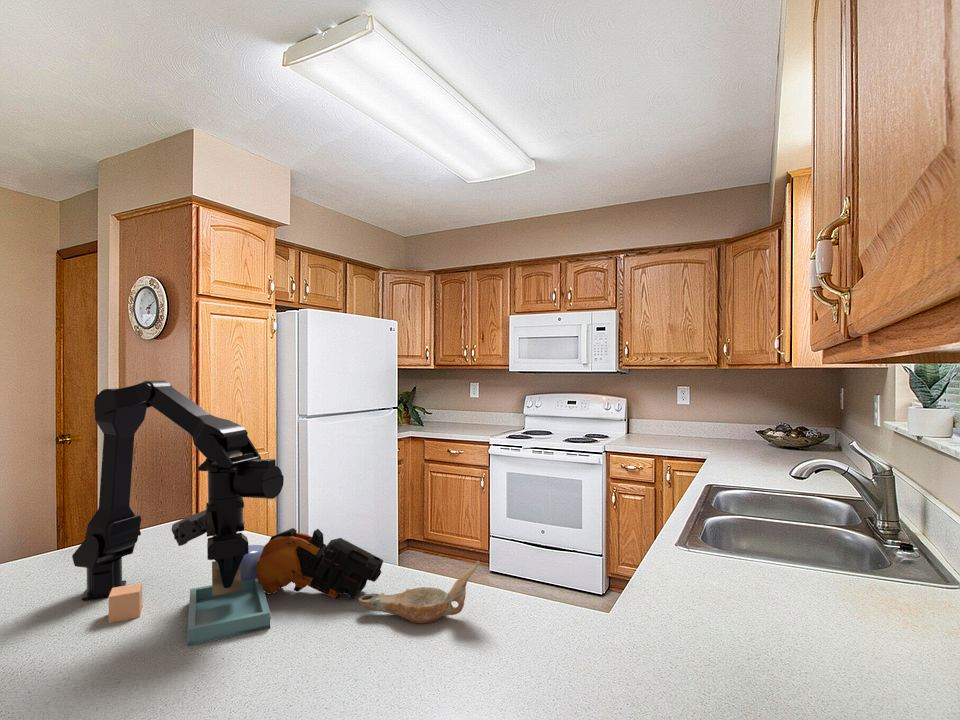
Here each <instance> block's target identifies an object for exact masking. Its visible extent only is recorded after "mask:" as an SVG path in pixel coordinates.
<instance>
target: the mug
mask: <svg viewBox="0 0 960 720" xmlns="http://www.w3.org/2000/svg"><path fill="white" fill-rule="evenodd" d="M264 546H265V545H262V544H250V545H249V544H248V554H246V555H244V557H243V559H242V561H241V563H240V566H241V580H249V579H254V578H257V573H256V569H257V568H256V566H257V561H258V559H259V557H260V556H261V553H262V551H263V548H264ZM212 562H215V560H212Z"/></svg>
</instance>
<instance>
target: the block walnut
mask: <svg viewBox="0 0 960 720" xmlns="http://www.w3.org/2000/svg"><path fill="white" fill-rule="evenodd" d="M214 561H215V560H214ZM211 576H212V577H211V585H212V593H213V596H215V595H220V594H226V593H231V592H237V591H241V566H239V568H238V571H237V573H236V575H235V578H234V580H233V583H232V585H231V587H230V588H224V586H223V582H222V578H221V574H220V569H219V565H218V562H217V561H215V562H213V561H211Z"/></svg>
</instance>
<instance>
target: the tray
mask: <svg viewBox="0 0 960 720" xmlns="http://www.w3.org/2000/svg"><path fill="white" fill-rule="evenodd" d="M188 604H189V605H188V618H187V619H188V621H187V646H188V647H190V646H196V645H199V644H204V643H208V642H214V641H218V640H222V639H226V638H230V637H231V638H232V637H235V636H240V635H245V634H250V633H254V632H259V631H263V630H268V629H271V611H270V607H269V604H268V600H267V597H266V592H265V591H264V589H263V585H262V584H259V582H258V579H257V578H254V579H249V580H241V591H237V592H231V593H226V594H220V595H215V596H213V593H212V584H211V585H205V586H199V587H194V588H190V589H189V603H188Z"/></svg>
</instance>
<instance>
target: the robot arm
mask: <svg viewBox="0 0 960 720" xmlns="http://www.w3.org/2000/svg"><path fill="white" fill-rule="evenodd" d="M93 404H94V406H93V407H94V408H93V409H94V421H95V422H96V424H97V426H98V427H99V429H100V430H101V432H102V434H103V443H102V458H101V469H100V470H101V472H100V474H101V475H100V484H99V485H100V486H99V501H98V509H97V511H96V512H95V514H94V515H93V517H92V518H91V519H90V521H89V522H88V523H87V528H86V533H85V537H84V540H83V542H82V543H81V544H80V545H79V546H78V548H77V549H76V550H75V551H74V552H73V554H72V556H71V558H72V562H73V565H74V567H77V568H84V569H85V568H86V589H85V591H84V592H83V595H82V596H81V601H86V600H92V599H93V600H94V599H98V598H104V597H105V598H106V597H109V595H110V592H111V590H112V588H114V587H120V586H126V585H127V580H126V579H125V580H123V557H126V556H128V555H132V554H133V553H134V550H135V546H136V544H137V543H138V538H139V536H141V535H142V533H141V523H142V517H141V515H139V514H135V513H134V511H133V510H132V507H130V506H131V486H132V473H133V462H134V461H133V459H134V448H135V447H134V446H135V445H134V443H135V434H136V432H137V431H138V430H139V428H140V426H141V425H142V424H143V422H144V421H145V420H146V419H145V418H146V414H147V410H148V409H150V408H152V407H153V409H155V410H157V411H158V412H159V413H160V414H162V415H163V416H164V417H166V418H167V419H169V420H170V421H171V422H173V423H174V424H176V425H177V426H178V427H179V428H181V429H182V430H184V432H186V433H188V434H189V435H190V436H191V438H192V441H193V445H194V447H195V448H196V449H197V450H198V451H199V452H200V453H201V454H202V455H203V456H204V457H205V460H204V461H203V462H202V463H201V464H200V465H199V466H197V471H199V472H207V502H205V503H206V505H205V510H202V511H199V512H197V513H194V514H192V515H190V516H189V515H188V516H187V517H184V518H183V519H181V520H178V521H176V522H175V523H172V525H171V532H172V535H173V538H174V540H175V541H176V543H177V545H178V546H179V547H181V546H184V545H187V544H188V542H190V541H193V540H194V539H196V538H199V537H201V536H202V535H205V534H206V537H208V538H207V547H206V548H207V549H206V551H207V553H206V554H207V560H208V561H217V562H218V565H219V569H220V574H221V578H222V582H223V586H224V588H230V587H231V585H232V583H233V580H234V578H235V575H236V573H237V571H238V568H239V566H240V563H241V561H242V559H243V557H244V555H246V554H248V545H249V539H248V537H247V535H245V534H243V533H242V532H244V531H245V523H244V508H245V502H244V498H249V499H250V498H251V499H267V500H269V499H270V500H274V499H275V498H277V497H278V496H279V495H280V493H281V491H282V489H283V487H284V477H285V476H284V475H283V473H282V469H281V468H280V467H279V466H277V465H276V458H268V459H262V456H261V455H260V454H259V452H258V450H257V448H256V447H255V445H254V444H253V442H252V441H251V439H250V437H249V436H248V431H247V429H246V428H245V427H244V426H242V425H241V424H239V423H236V422H234V421H232V420H229V419H226V418H221V417H218V416H215V415H212V414H211V413H210V412H207V411H206V410H205V409H203V408H202V407H201V406H199V405H198V404H196V403H195V402H194V401H192V400H191V399H189V398H188V397H187V396H186V395H183V394H182V393H181V392H180V391H178V390H177V389H176V388H174V387H173V386H172V385H171V383H170V382H168V381H166V380H144V381H143V382H139V383H137V384H134V385H129V386H125V387H120V388H105V389H103V390H101V391H99V393H98V394H96V395H95V398H94V402H93Z"/></svg>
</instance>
